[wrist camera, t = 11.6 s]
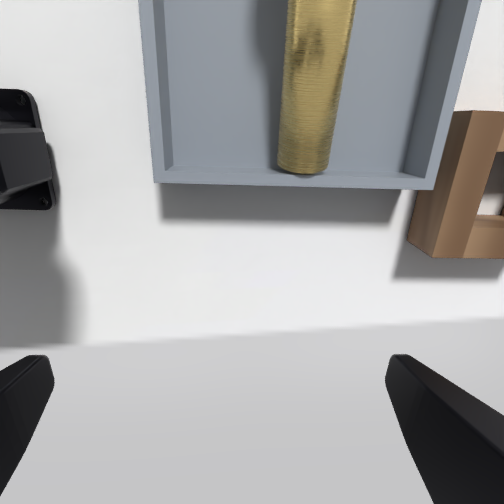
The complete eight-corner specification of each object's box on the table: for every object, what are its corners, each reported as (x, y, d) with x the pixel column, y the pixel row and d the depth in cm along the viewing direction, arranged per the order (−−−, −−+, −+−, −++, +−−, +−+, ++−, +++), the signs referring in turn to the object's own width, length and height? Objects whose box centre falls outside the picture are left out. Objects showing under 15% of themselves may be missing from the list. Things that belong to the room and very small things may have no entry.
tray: (166, 174, 19) (153, 182, 16) (145, -122, 14) (122, -183, 11) (405, 180, 20) (432, 190, 17) (466, -96, 15) (519, -147, 12)
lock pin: (348, 178, 16) (443, -245, 8) (269, 178, 15) (293, -255, 8) (329, 150, 19) (384, -174, 11) (263, 150, 19) (276, -180, 11)
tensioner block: (406, 240, 21) (431, 257, 18) (436, 112, 18) (473, 110, 15) (517, 242, 22) (558, 259, 19) (565, 117, 19) (622, 116, 16)
